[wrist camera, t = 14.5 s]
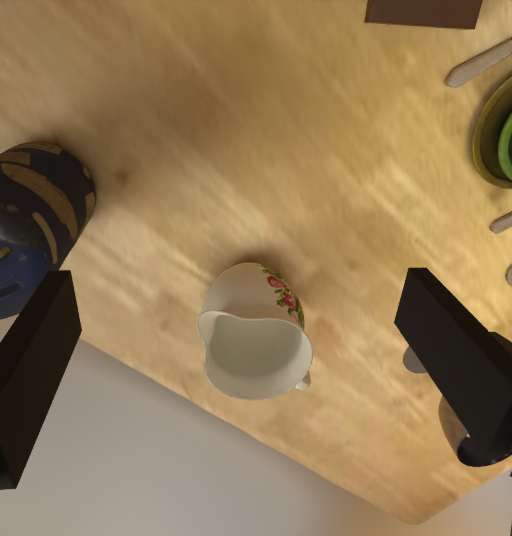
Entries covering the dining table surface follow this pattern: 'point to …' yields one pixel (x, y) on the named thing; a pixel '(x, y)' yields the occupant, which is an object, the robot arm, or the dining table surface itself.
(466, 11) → the cup holder
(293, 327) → the pitcher
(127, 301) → the dining table surface
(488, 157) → the tableware set
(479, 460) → the wine glass
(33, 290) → the canister
